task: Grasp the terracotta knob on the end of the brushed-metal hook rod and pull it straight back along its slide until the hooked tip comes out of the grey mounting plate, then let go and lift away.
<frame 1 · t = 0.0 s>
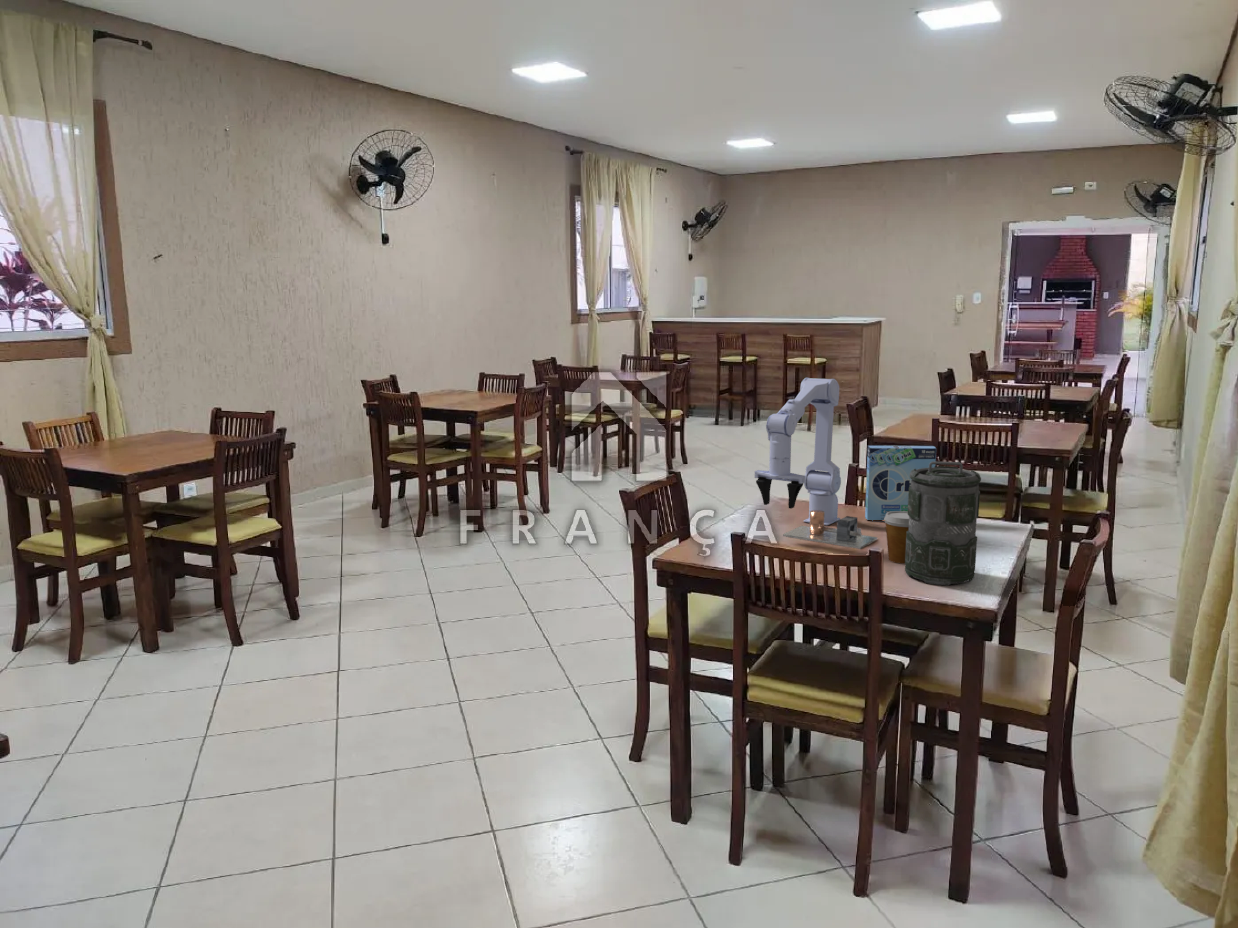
hand: (778, 505, 236), 10 cm above the table, tool pointing down, fingers open, 7 cm apart
canister: (938, 577, 206), on the table
gum box: (898, 520, 261), on the table
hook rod: (835, 524, 240), point 4 cm above the table, slide at 0.0 cm
grey mounting plate: (829, 537, 241), on the table
disposable coffee cup: (901, 561, 219), on the table
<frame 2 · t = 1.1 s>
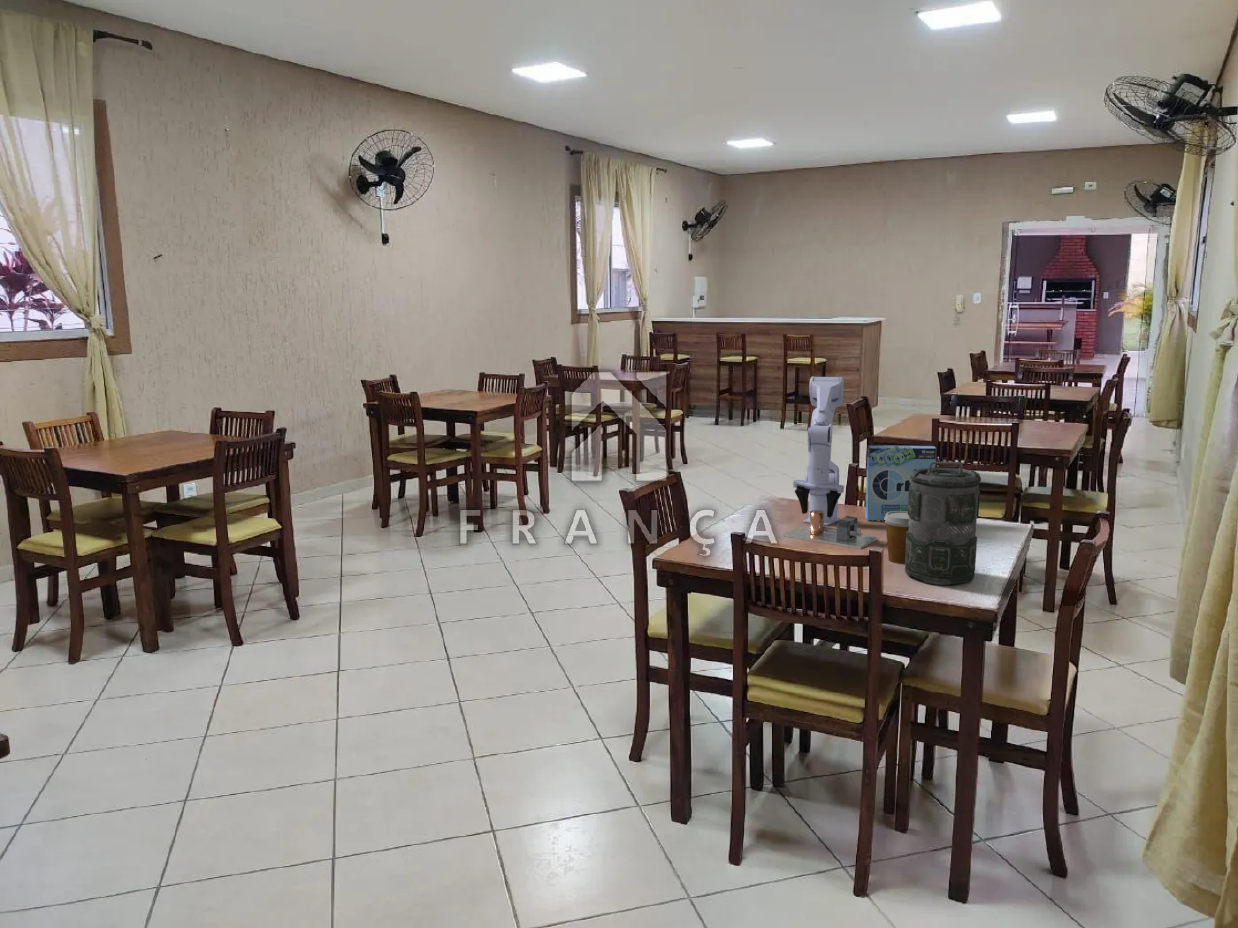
hand: (817, 514, 243), 6 cm above the table, tool pointing down, fingers open, 7 cm apart
nothing on the table moved.
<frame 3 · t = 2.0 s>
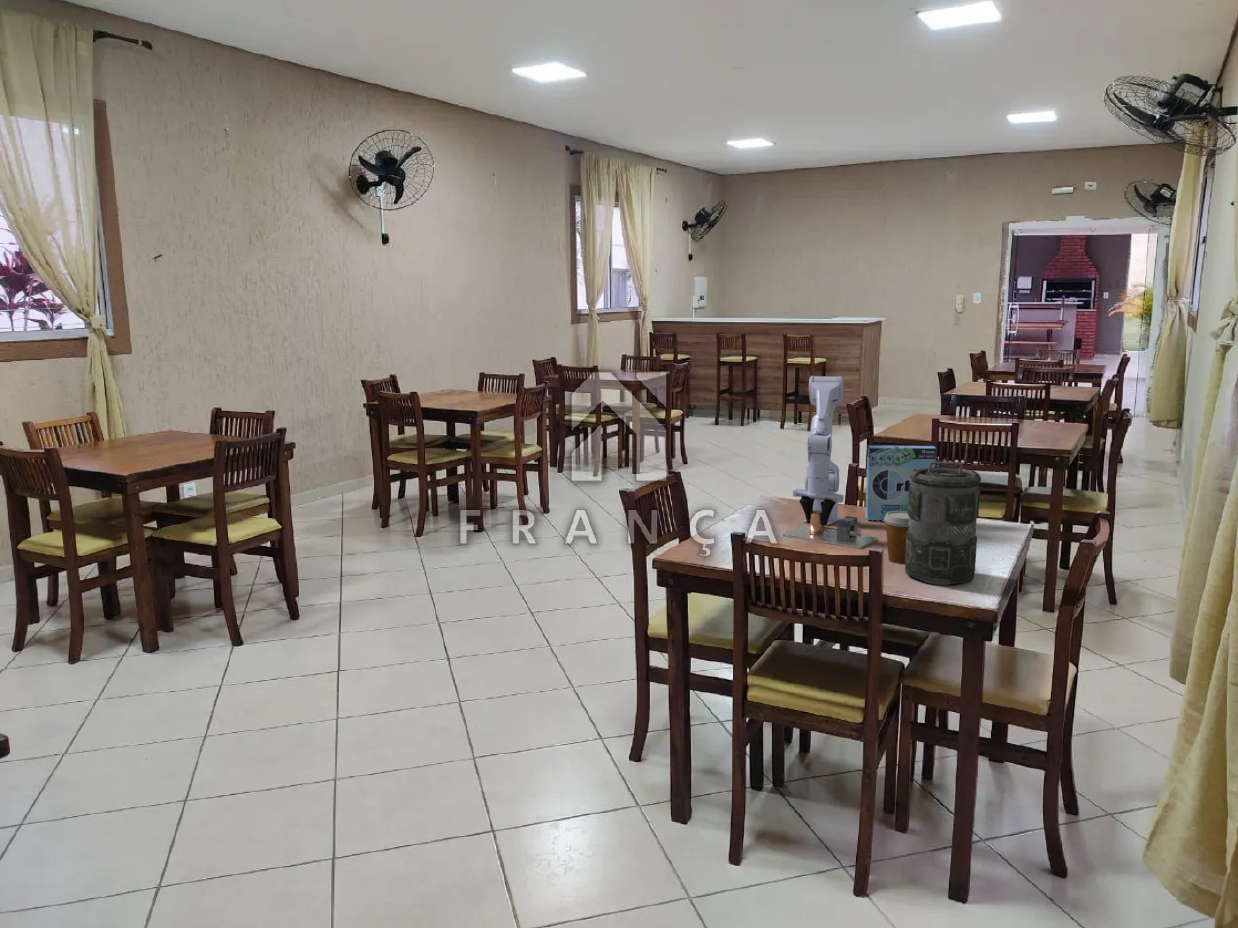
hand: (816, 524, 243), 3 cm above the table, tool pointing down, fingers closed on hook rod, 4 cm apart
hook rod: (835, 524, 240), point 4 cm above the table, slide at 0.0 cm, touching gripper
everything else where it was.
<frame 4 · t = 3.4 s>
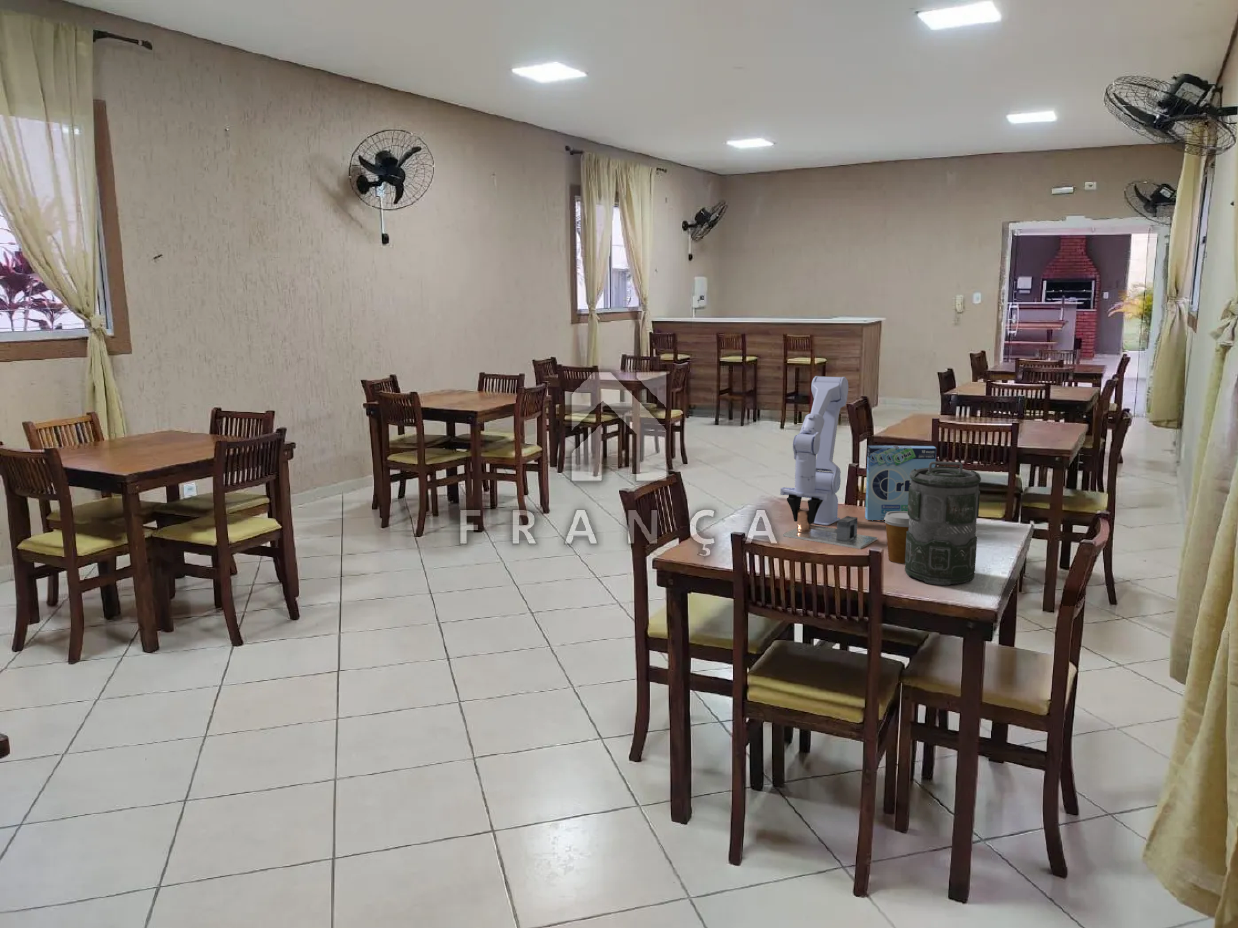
hand: (804, 522, 245), 3 cm above the table, tool pointing down, fingers closed on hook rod, 4 cm apart
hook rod: (822, 522, 242), point 4 cm above the table, slide at 4.0 cm, touching gripper
everything else where it was.
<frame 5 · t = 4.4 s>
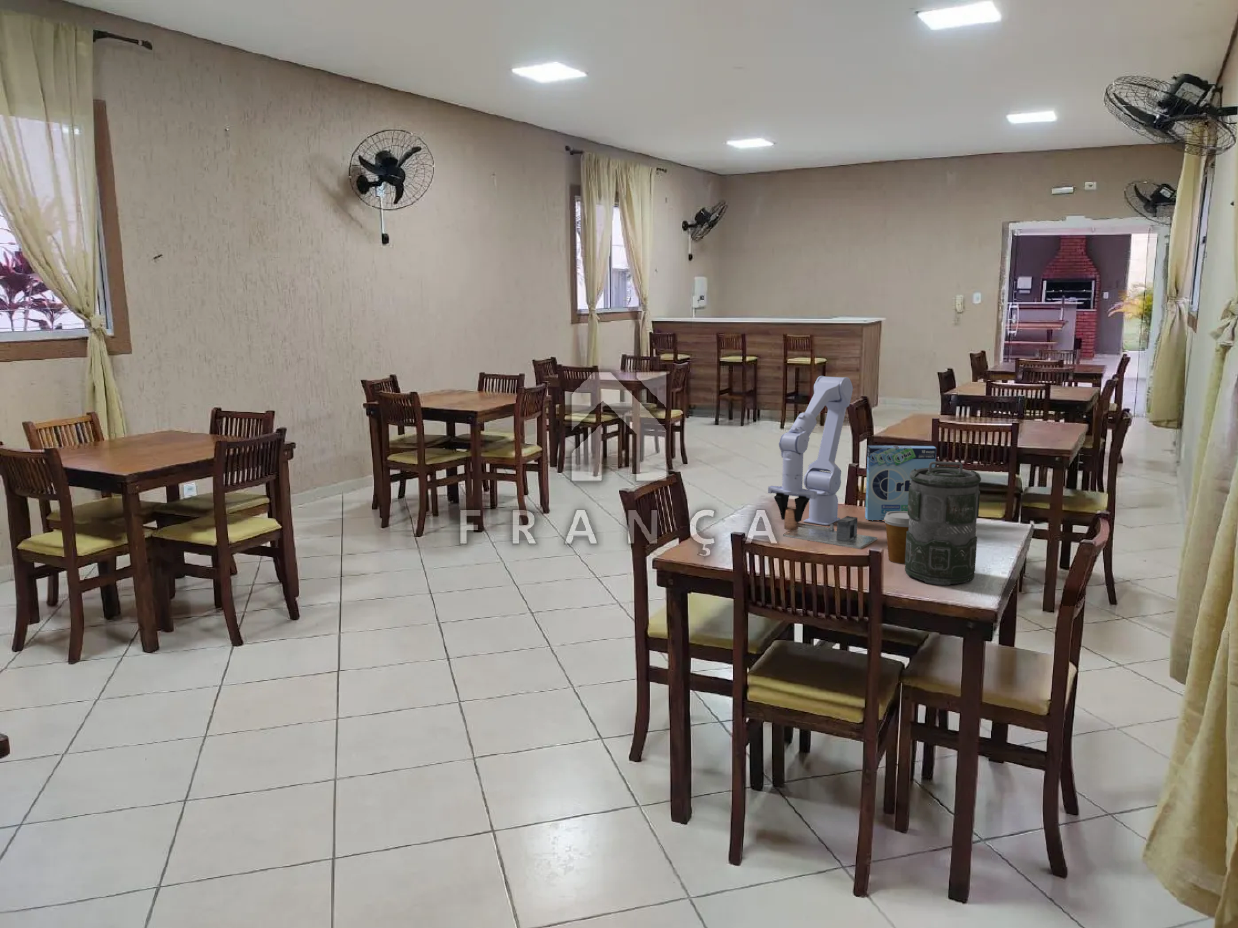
hand: (791, 520, 248), 3 cm above the table, tool pointing down, fingers closed on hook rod, 4 cm apart
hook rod: (808, 520, 244), point 4 cm above the table, slide at 8.0 cm, touching gripper
everything else where it was.
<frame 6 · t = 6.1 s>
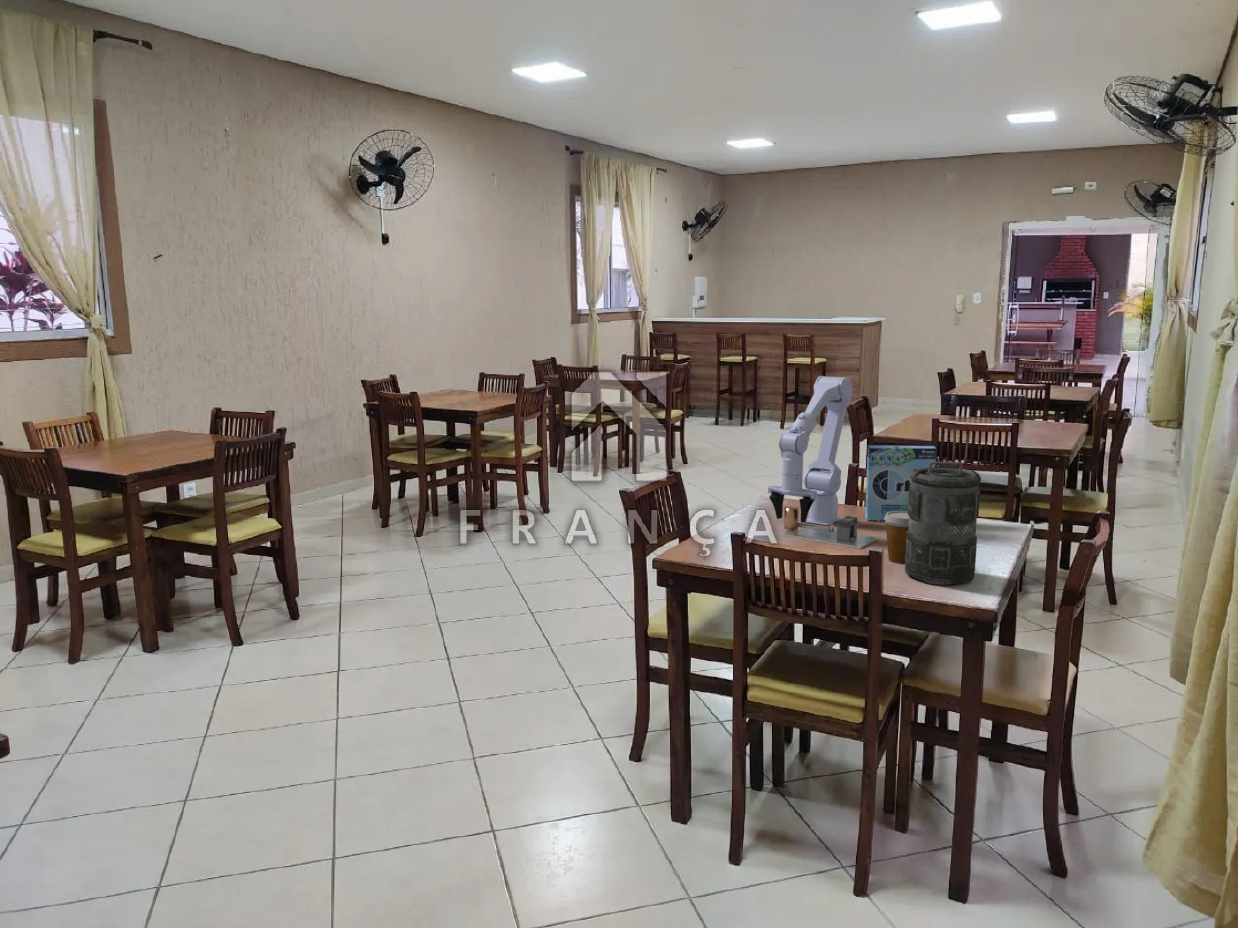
hand: (791, 520, 248), 3 cm above the table, tool pointing down, fingers open, 7 cm apart
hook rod: (808, 520, 244), point 4 cm above the table, slide at 8.0 cm
everything else where it was.
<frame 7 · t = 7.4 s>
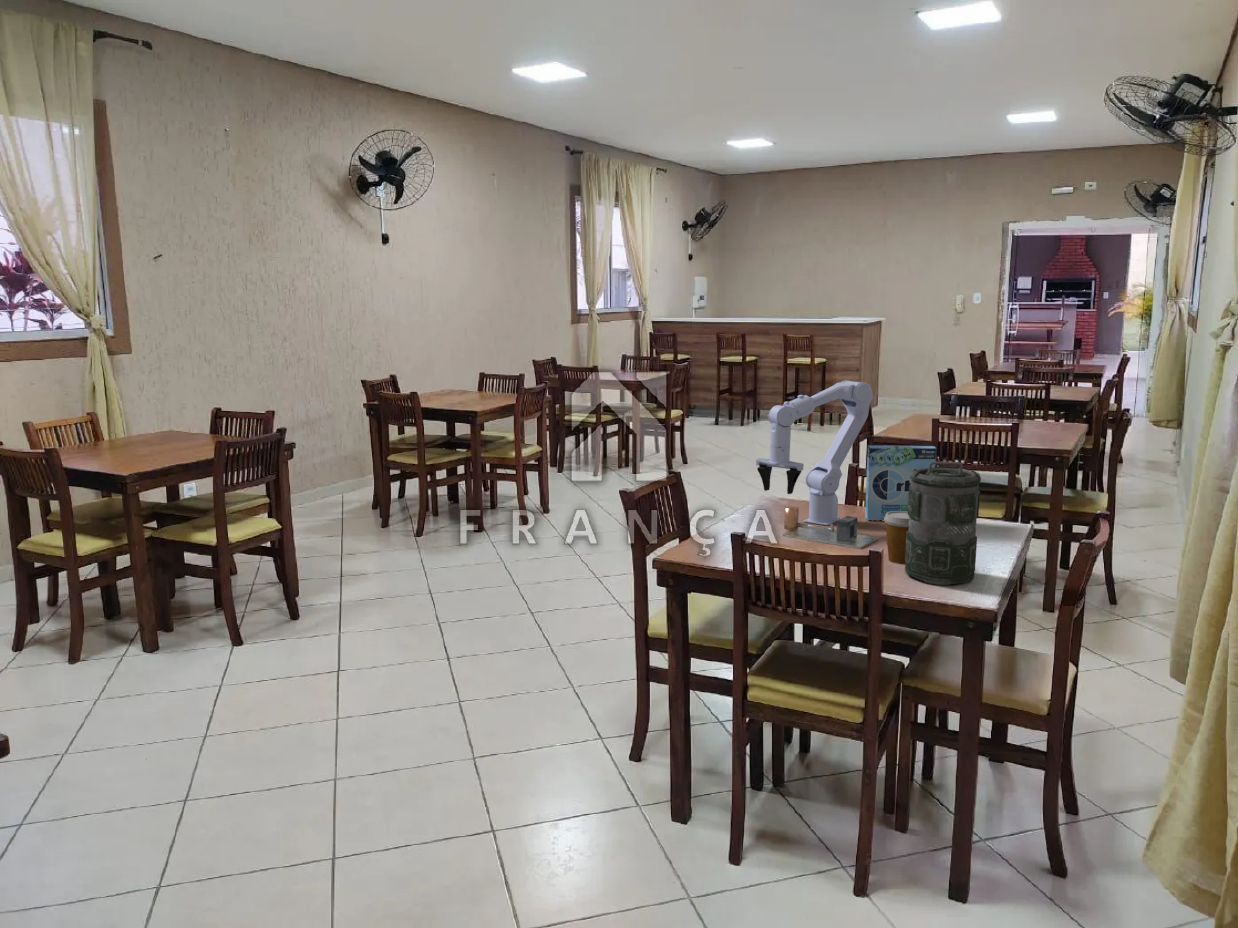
hand: (778, 491, 253), 10 cm above the table, tool pointing down, fingers open, 7 cm apart
nothing on the table moved.
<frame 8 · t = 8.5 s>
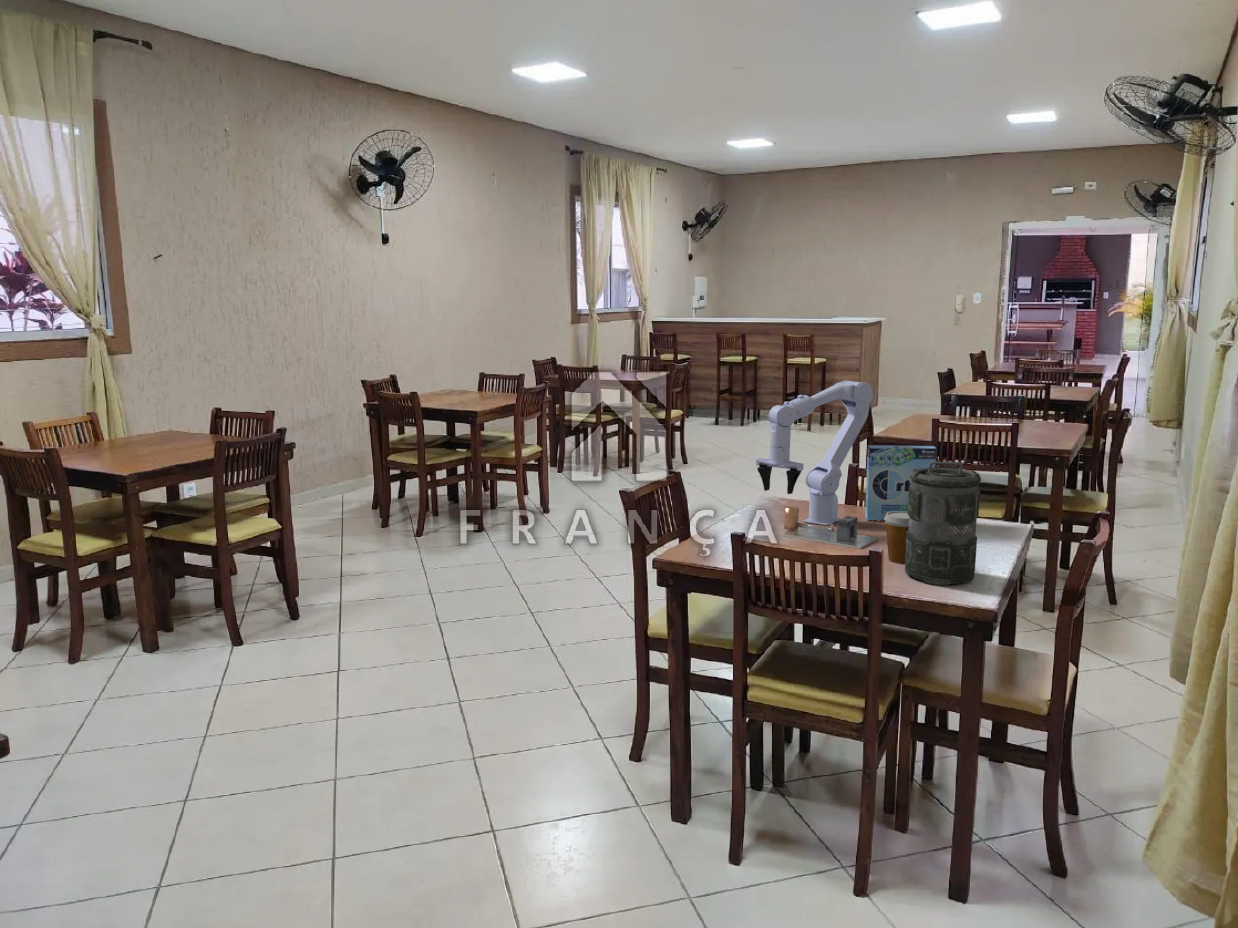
hand: (778, 491, 253), 10 cm above the table, tool pointing down, fingers open, 7 cm apart
nothing on the table moved.
at the end: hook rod slide at 8.0 cm; the gripper is holding nothing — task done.
